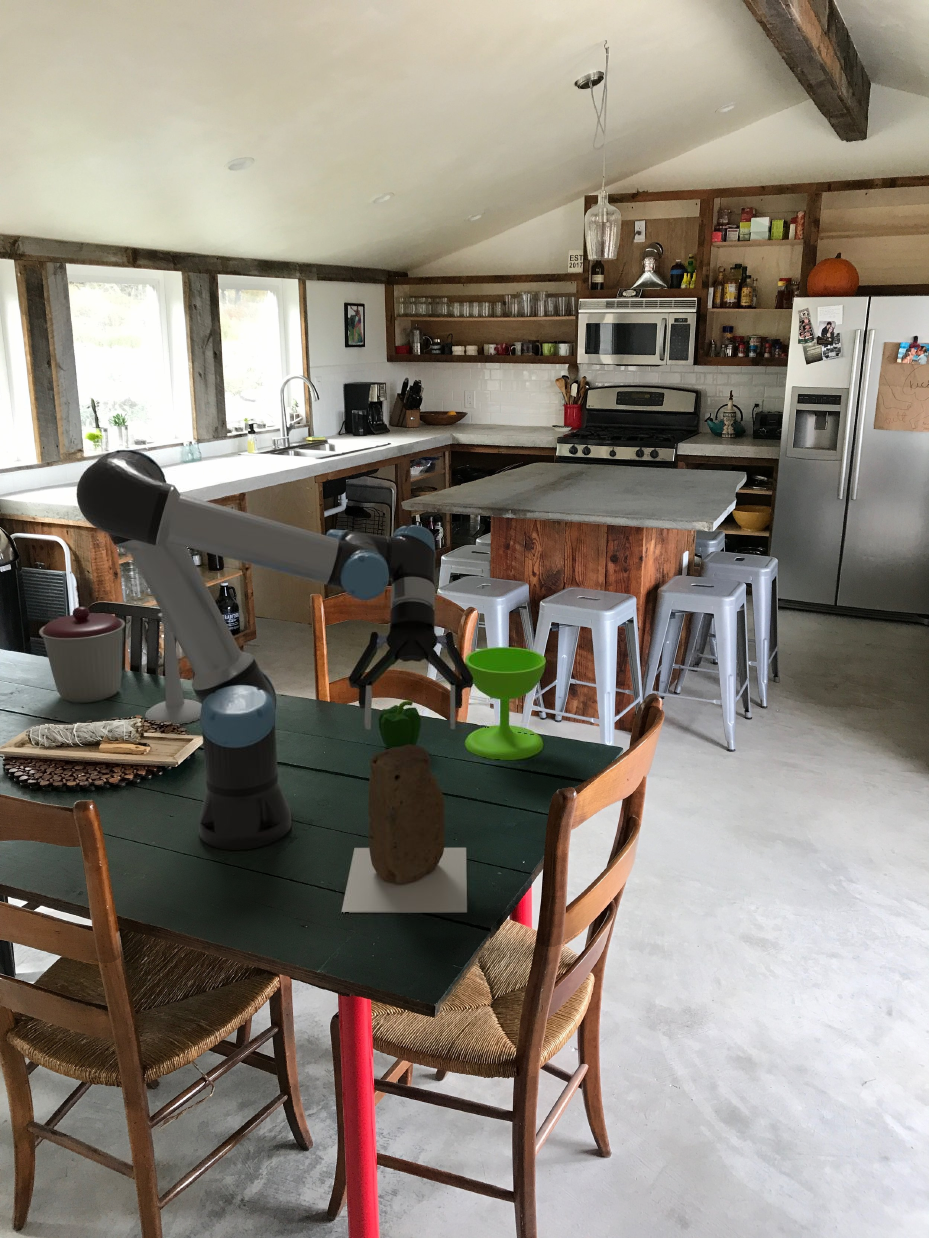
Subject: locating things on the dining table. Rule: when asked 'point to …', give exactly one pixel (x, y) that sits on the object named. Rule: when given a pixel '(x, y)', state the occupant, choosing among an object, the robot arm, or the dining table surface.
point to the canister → (85, 654)
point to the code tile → (407, 887)
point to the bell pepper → (399, 725)
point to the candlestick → (173, 688)
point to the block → (404, 815)
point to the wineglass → (505, 700)
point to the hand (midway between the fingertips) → (410, 726)
